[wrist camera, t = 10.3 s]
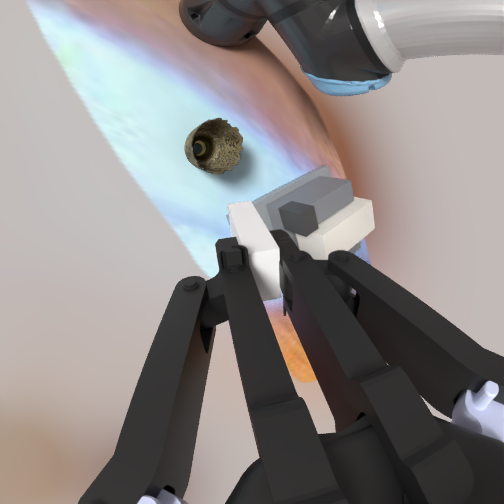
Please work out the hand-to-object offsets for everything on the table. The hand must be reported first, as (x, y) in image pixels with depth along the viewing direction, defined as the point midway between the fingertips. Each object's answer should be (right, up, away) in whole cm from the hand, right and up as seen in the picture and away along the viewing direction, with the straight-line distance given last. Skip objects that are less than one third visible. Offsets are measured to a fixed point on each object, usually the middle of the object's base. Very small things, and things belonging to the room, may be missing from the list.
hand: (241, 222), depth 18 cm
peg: (+14, +4, +34) cm, 37 cm away
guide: (+8, +3, +37) cm, 38 cm away
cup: (-8, +14, +22) cm, 27 cm away
